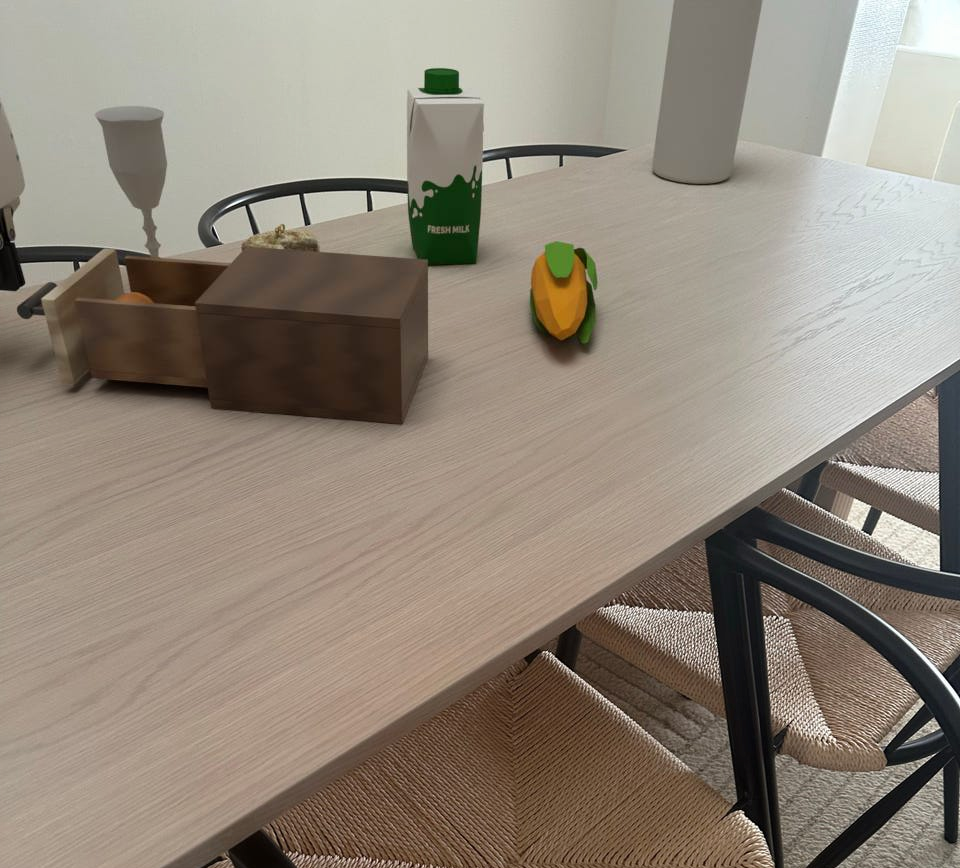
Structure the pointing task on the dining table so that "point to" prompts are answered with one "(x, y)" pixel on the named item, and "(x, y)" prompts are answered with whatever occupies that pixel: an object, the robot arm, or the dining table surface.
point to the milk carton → (444, 168)
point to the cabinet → (316, 334)
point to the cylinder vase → (704, 88)
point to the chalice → (137, 159)
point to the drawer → (127, 319)
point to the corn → (563, 291)
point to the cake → (284, 240)
